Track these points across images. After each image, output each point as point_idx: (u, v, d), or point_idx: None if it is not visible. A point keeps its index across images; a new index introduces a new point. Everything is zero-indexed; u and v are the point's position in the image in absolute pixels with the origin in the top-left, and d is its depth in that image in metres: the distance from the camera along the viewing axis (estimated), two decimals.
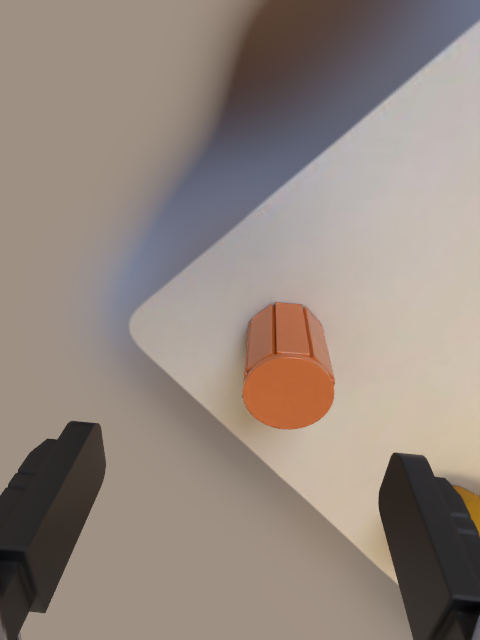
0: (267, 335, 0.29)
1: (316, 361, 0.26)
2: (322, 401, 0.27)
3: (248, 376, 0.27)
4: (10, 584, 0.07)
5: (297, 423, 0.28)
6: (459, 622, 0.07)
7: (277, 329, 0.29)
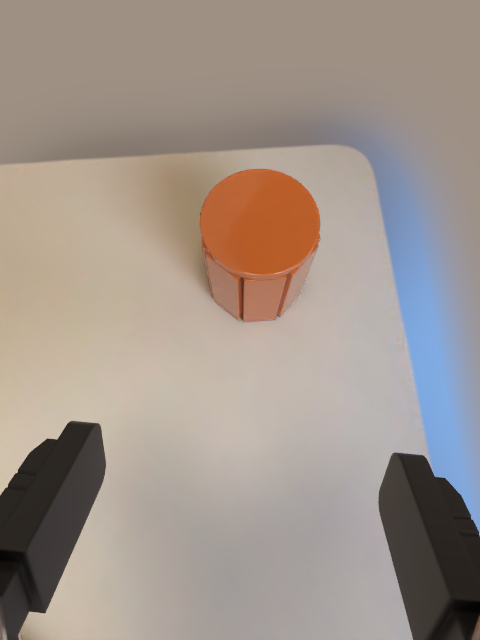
0: None
1: (281, 275, 0.20)
2: (226, 249, 0.20)
3: (312, 197, 0.21)
4: (10, 584, 0.07)
5: (212, 205, 0.21)
6: (459, 622, 0.07)
7: None
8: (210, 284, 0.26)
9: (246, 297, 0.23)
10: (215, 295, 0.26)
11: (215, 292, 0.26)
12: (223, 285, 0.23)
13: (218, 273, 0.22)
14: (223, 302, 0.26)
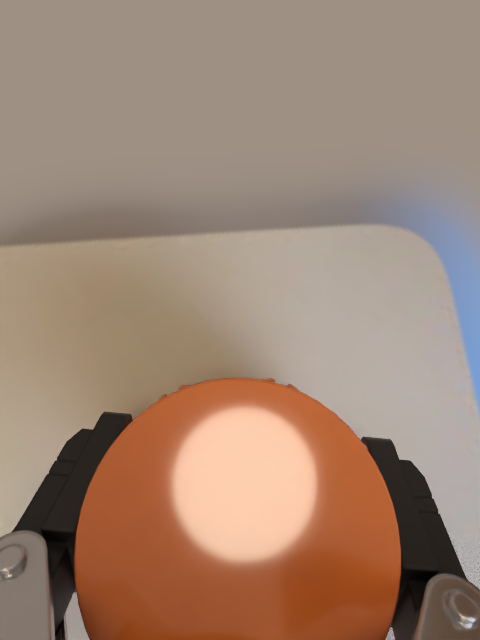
0: None
1: None
2: None
3: (375, 466, 0.08)
4: (60, 563, 0.08)
5: (111, 493, 0.08)
6: (411, 591, 0.08)
7: None
8: None
9: None
10: None
11: None
12: None
13: None
14: None
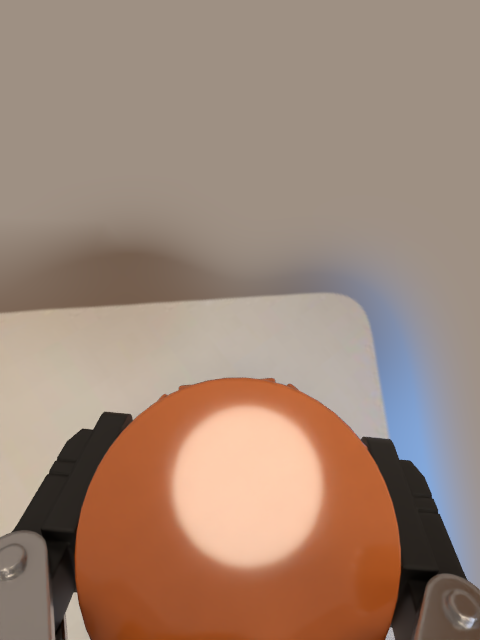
0: None
1: None
2: None
3: (375, 465, 0.08)
4: (60, 563, 0.08)
5: (112, 493, 0.08)
6: (411, 591, 0.08)
7: None
8: None
9: None
10: None
11: None
12: None
13: None
14: None
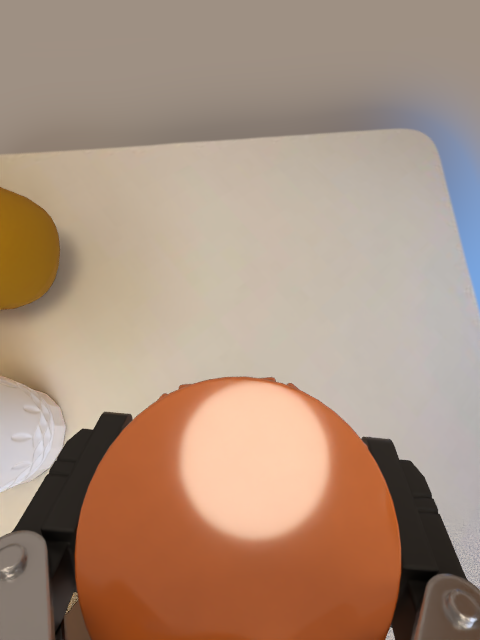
0: None
1: None
2: None
3: (376, 464, 0.08)
4: (60, 563, 0.08)
5: (112, 492, 0.08)
6: (411, 591, 0.08)
7: None
8: None
9: None
10: None
11: None
12: None
13: None
14: None
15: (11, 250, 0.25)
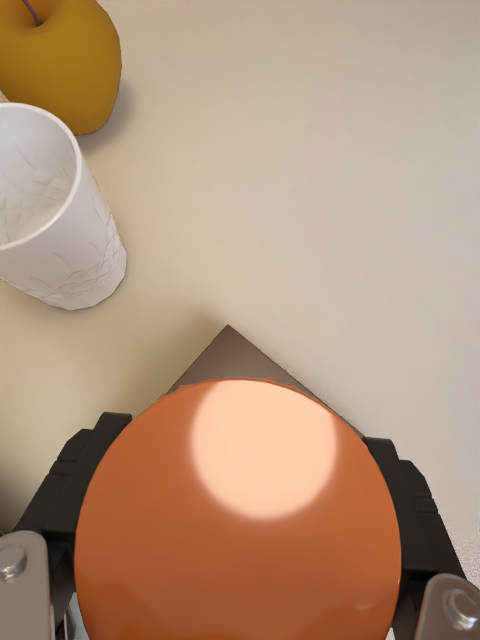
0: None
1: None
2: None
3: (376, 465, 0.08)
4: (60, 563, 0.08)
5: (111, 493, 0.08)
6: (411, 591, 0.08)
7: None
8: None
9: None
10: None
11: None
12: None
13: None
14: None
15: (81, 34, 0.23)
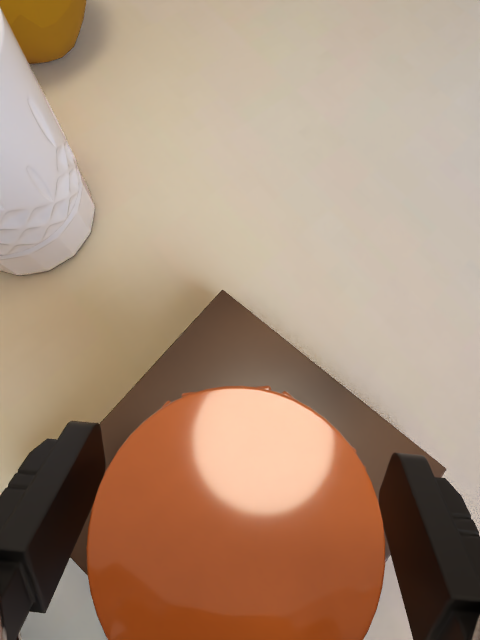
0: None
1: None
2: (147, 630, 0.08)
3: (363, 467, 0.09)
4: (10, 584, 0.07)
5: (120, 492, 0.09)
6: (459, 622, 0.07)
7: None
8: None
9: None
10: None
11: None
12: None
13: None
14: None
15: None
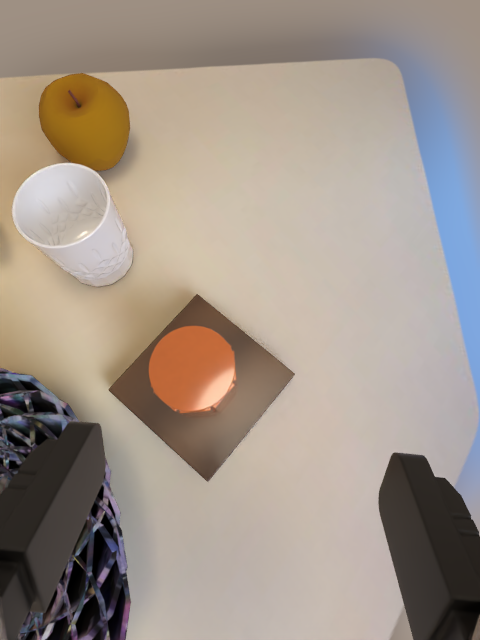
0: None
1: (205, 409, 0.28)
2: (166, 390, 0.28)
3: (230, 349, 0.29)
4: (10, 584, 0.07)
5: (158, 355, 0.29)
6: (459, 622, 0.07)
7: (235, 390, 0.32)
8: None
9: (186, 415, 0.31)
10: None
11: None
12: None
13: None
14: None
15: (105, 114, 0.38)
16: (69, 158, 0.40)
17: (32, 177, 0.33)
